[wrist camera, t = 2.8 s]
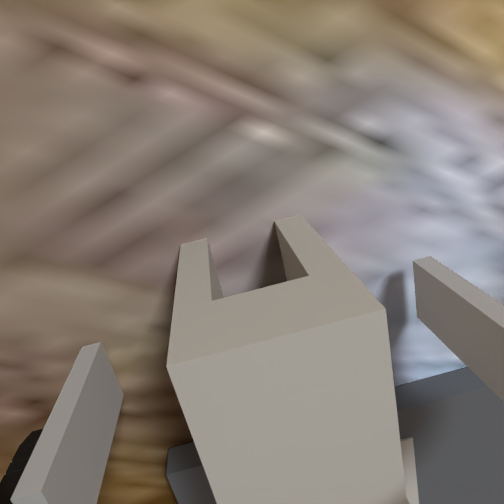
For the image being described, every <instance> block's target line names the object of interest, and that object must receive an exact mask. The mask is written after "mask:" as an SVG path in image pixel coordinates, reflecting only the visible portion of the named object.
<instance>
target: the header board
mask: <svg viewBox="0 0 504 504" xmlns="http://www.w3.org/2000/svg"><path fill="white" fill-rule="evenodd" d="M394 388H395V397H396V406H397V416H398V425H399V434H400V443H401V452H402V461H403V470H404V479H405V488H406V498H407V504H504V402H503V401H502V400H501V399H500V398H499V397H498V396H497V395H496V394H495V393H494V392H493V391H492V390H491V389H490V388H489V387H488V386H487V385H486V384H485V383H484V382H483V381H482V380H481V379H480V378H479V377H478V376H477V375H476V374H475V373H474V372H473V371H472V370H471V369H470V368H468V367H466V368H462V369H459V370H455V371H451V372H448V373H444V374H440V375H437V376H433V377H429V378H426V379H422V380H418V381H415V382H411V383H407V384H404V385H400V386H396V387H394ZM166 476H167V478H168V480H169V483H170V485H171V487H172V490H173V492H174V495H175V497H176V499H177V502H178V504H217V503H216V500H215V497H214V494H213V492H212V489H211V486H210V484H209V481H208V478H207V476H206V473H205V470H204V467H203V465H202V462H201V459H200V457H199V454H198V451H197V448H196V446H195V443H194V442H191V443H187V444H184V445H180V446H176V447H173V448H169V449H168V461H167V473H166Z"/></svg>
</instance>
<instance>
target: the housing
mask: <svg viewBox="0 0 504 504" xmlns="http://www.w3.org/2000/svg"><path fill="white" fill-rule="evenodd" d="M274 222H275V227H276V232H277V237H278V241H279V246H280V251H281V256H282V260H283V265H284V270H285V275H286V279H287V282H283V283H279V284H275V285H271V286H267V287H264V288H260V289H256V290H252V291H248V292H244V293H240V294H237V295H233V296H229V297H225V298H224V296H223V292H222V289H221V285H220V282H219V278H218V275H217V271H216V267H215V264H214V260H213V257H212V253H211V250H210V246H209V243H208V239H207V238H205V239H201V240H197V241H193V242H189V243H185V244H181V246H180V254H179V263H178V271H177V280H176V288H175V297H174V305H173V314H172V322H171V331H170V339H169V348H168V356H167V365H166V367H167V370H168V373H169V375H170V378H171V381H172V384H173V386H174V389H175V392H176V394H177V397H178V400H179V403H180V405H181V408H182V411H183V413H184V416H185V419H186V421H187V424H188V427H189V430H190V432H191V435H192V438H193V440H194V443H195V446H196V448H197V451H198V454H199V457H200V459H201V462H202V465H203V467H204V470H205V473H206V476H207V478H208V481H209V484H210V486H211V489H212V492H213V494H214V497H215V500H216V503H217V504H407V498H406V488H405V479H404V470H403V461H402V452H401V443H400V434H399V425H398V416H397V406H396V397H395V388H394V379H393V370H392V361H391V352H390V343H389V334H388V325H387V315H386V308H385V307H384V306H383V305H382V304H381V303H380V302H379V301H378V300H377V298H376V297H375V296H374V295H373V294H372V293H371V292H370V291H369V290H368V289H367V287H366V286H365V285H364V284H363V283H362V282H361V281H360V280H359V279H358V278H357V276H356V275H355V274H354V273H353V272H352V271H351V270H350V269H349V268H348V266H347V265H346V264H345V263H344V262H343V261H342V260H341V259H340V258H339V257H338V255H337V254H336V253H335V252H334V251H333V250H332V249H331V248H330V247H329V246H328V244H327V243H326V242H325V241H324V240H323V239H322V238H321V237H320V236H319V234H318V233H317V232H316V231H315V230H314V229H313V228H312V227H311V226H310V225H309V223H308V222H307V221H306V220H305V219H304V218H303V217H302V216H301V215H296V216H292V217H288V218H284V219H280V220H276V221H274Z"/></svg>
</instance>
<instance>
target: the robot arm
mask: <svg viewBox="0 0 504 504" xmlns="http://www.w3.org/2000/svg"><path fill="white" fill-rule="evenodd" d="M413 270H414V283H415V296H416V309H417V317H418V318H419V319H420V320H421V321H422V322H423V323H424V324H425V325H426V326H427V327H428V328H429V329H430V330H431V331H432V332H433V333H434V334H435V335H436V336H437V337H438V338H439V339H440V340H441V341H442V342H443V343H444V344H445V345H446V346H447V347H448V348H449V349H450V350H451V351H452V352H453V353H454V354H455V355H456V356H457V357H458V358H459V359H460V360H461V361H462V362H463V363H464V364H465V365H466V366H467V367H468V368H470V369H471V370H472V371H473V372H474V373H475V374H476V375H477V376H478V377H479V378H480V379H481V380H482V381H483V382H484V383H485V384H486V385H487V386H488V387H489V388H490V389H491V390H492V391H493V392H494V393H495V394H496V395H497V396H498V397H499V398H500V399H501V400H502V401H503V402H504V305H503V304H502V303H500V302H499V301H497V300H496V299H494V298H493V297H491V296H490V295H488V294H487V293H485V292H484V291H482V290H481V289H479V288H478V287H476V286H475V285H473V284H472V283H470V282H469V281H467V280H466V279H464V278H463V277H461V276H460V275H458V274H457V273H455V272H454V271H452V270H451V269H449V268H448V267H446V266H445V265H443V264H441V263H440V262H438V261H437V260H435V259H434V258H432V257H431V256H429V257H425V258H421V259H417V260H414V261H413ZM123 397H124V394H123V392H122V390H121V387H120V385H119V383H118V380H117V378H116V376H115V373H114V371H113V369H112V366H111V364H110V362H109V360H108V357H107V355H106V353H105V350H104V348H103V346H102V343H101V342H99V343H95V344H91V345H87V346H84V347H82V348H81V350H80V352H79V355H78V357H77V359H76V361H75V363H74V365H73V367H72V369H71V372H70V374H69V376H68V378H67V380H66V382H65V384H64V386H63V389H62V391H61V393H60V395H59V397H58V399H57V401H56V403H55V406H54V408H53V410H52V412H51V414H50V416H49V418H48V420H47V423H46V425H45V427H44V429H40V430H37V431H33V432H31V434H30V435H29V436H28V437H27V438H26V439H25V440H24V441H23V443H22V444H21V445H20V446H19V448H18V450H17V452H16V454H15V456H14V457H13V459H12V463H10V465H9V467H8V469H7V471H6V475H4V477H3V479H2V481H1V483H0V504H97V500H98V496H99V492H100V488H101V484H102V480H103V476H104V472H105V468H106V464H107V460H108V456H109V452H110V448H111V444H112V440H113V436H114V432H115V428H116V424H117V420H118V417H119V413H120V409H121V405H122V401H123Z"/></svg>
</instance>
